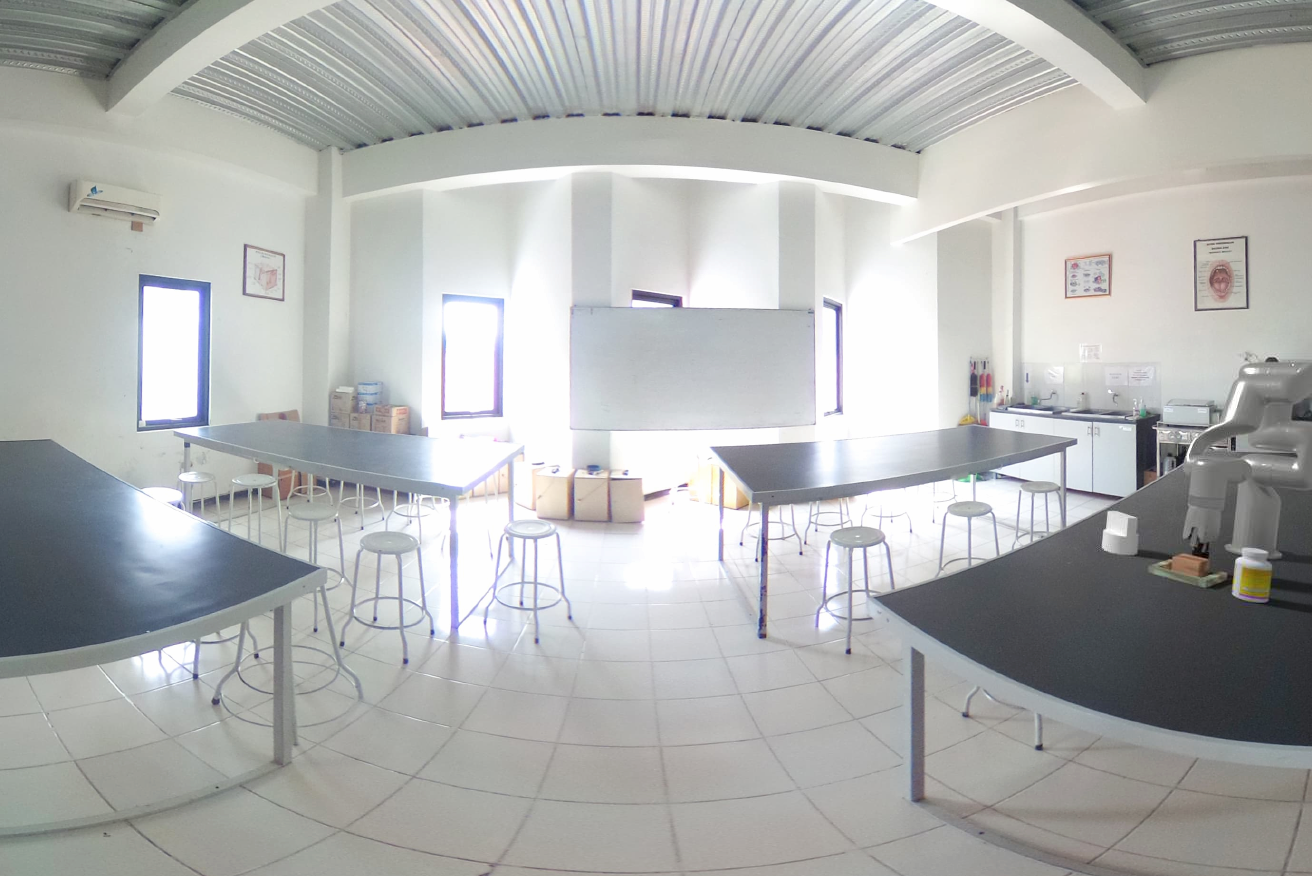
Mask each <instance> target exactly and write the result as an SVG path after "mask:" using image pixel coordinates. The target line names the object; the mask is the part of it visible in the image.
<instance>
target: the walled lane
mask: <svg viewBox="0 0 1312 876" xmlns="http://www.w3.org/2000/svg"><path fill="white" fill-rule="evenodd" d="M1147 568H1148V569H1147V574H1151V575H1156V576H1159V577H1163V578H1166V577H1167V579H1171V580H1175V581H1178V582H1182V583H1186V584H1190V585H1193V586H1196V587H1200V588H1208V587H1211V586H1214V585H1217V584H1219V583H1223V582H1225V581H1227V579H1228V572H1226V571H1225V572H1224V571H1218V572H1215V573H1212V574H1208V576H1206V577H1203V578H1200V577H1196V576H1192V575H1188V574H1184V573H1180V572H1176V571H1172V570H1171V568H1172V559H1166V560H1162V561H1160V562H1157V563H1154V564H1151V565H1148V567H1147Z"/></svg>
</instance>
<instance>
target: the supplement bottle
mask: <svg viewBox="0 0 1312 876" xmlns="http://www.w3.org/2000/svg"><path fill="white" fill-rule="evenodd" d="M1242 554H1243V556H1240V557H1239V556H1238V557H1236V559H1235V561H1234V562H1235V563H1234V568H1233V569H1234V571H1233V572H1234V573H1233V579H1232V586H1231V587H1232V588H1231V594H1232V596H1233V597H1235V598H1237V599H1239V600H1242V601H1246V602H1250V603H1258V604H1259V603H1263V604H1264V603H1267V602H1268V601H1269V597H1270V590H1271V581H1272V574H1273V573H1272V572H1273V565H1272V563H1271V562H1269V561H1268V560H1267V559H1266V558H1267V557H1268V552H1267V551H1264V550H1261V549H1256V548H1242Z"/></svg>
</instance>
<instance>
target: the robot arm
mask: <svg viewBox="0 0 1312 876" xmlns="http://www.w3.org/2000/svg"><path fill="white" fill-rule="evenodd" d="M1311 394H1312V361H1311V362H1310V361H1263V362H1262V361H1260V362H1250V363H1246V364H1244V365H1242V366H1241V367H1240V368H1239V371H1238V377H1237V378H1236V379H1235V380H1234V381H1233V383H1232V384H1231V387H1230V390H1229V393H1228V396H1227V398H1226V401H1225V404H1224V406H1223V410H1222V412H1221V415H1220V417H1219V420H1218V421H1217V422H1215V423H1214V424H1213V425H1211V426H1209V427H1207V428H1205V429H1203V430H1202V431H1201V432H1200V433H1198V434H1197V435H1196V436H1195V437H1194V438H1193V439H1192V440H1191V442H1190V443H1189V446H1188V448H1187V451H1186V453H1185V457H1184V460H1183V463H1182V471H1183V473H1184V474H1185V476H1186V477H1189V478H1190V481H1189V491H1188V499H1187V501H1188V502H1187V506H1188V509H1187V513H1186V516H1185V520H1184V527H1183V532H1182V538H1183V540H1184V541H1188V540H1190V543H1189V546H1190V547H1191V549H1192V552H1191V555H1192V556H1196V557H1201V558H1205V559H1209V558H1210V551H1211V547H1212V543H1213V542H1214V541H1216V540H1218V539H1219V537H1220V532H1221V523H1222V511H1224V510H1225V503H1226V502H1225V501H1226V495H1227V494H1226V493H1227V485H1228V484H1229V485H1237V498H1236V507H1235V513H1234V514H1235V515H1234V523H1233V531H1232V540H1231V543H1228V544H1224V550H1225V551H1227V552H1228V553H1231V554H1235V555H1237V556H1240V557H1242V556H1243V554H1242V548H1256V549H1261V550H1264V551H1267V552H1268V557H1267V558H1266V560H1279V559H1282V558H1283V553H1281V552H1280V551H1278V550H1276V547H1277V546H1276V545H1277V539H1278V532H1279V531H1278V530H1279V524H1280V523H1279V522H1280V515H1281V507H1282V506H1281V505H1282V501H1281V497H1280V495H1279V494H1278V492H1277V491H1276V490H1275V489H1274V488H1284V489H1289V490H1290V489H1291V490H1298V491H1310V490H1312V421H1306V420H1292V413H1293V407H1294V406H1295V405H1296V404H1299V403H1301V402H1302V401H1303V400H1305V398H1307V397H1308V396H1309V395H1311ZM1244 435H1247V441H1248V444H1249V445H1250V446H1251V447H1252V448H1254V449H1259V450H1264V451H1265V450H1266V451H1273V452H1274V451H1275V452H1283V453H1285V452H1286V453H1295V454H1296V456H1297V457H1296V456H1285V455H1277V454H1267V453H1266V454H1265V453H1248V454H1245V455H1242V456H1241V457H1240V458H1238V457H1231V456H1230V457H1229V456H1222V455H1213V454H1205V452H1206V451H1207V450H1208V449H1209V447H1211V446H1213V445H1214V444H1216V443H1219V442H1221V441H1223V440H1227V439H1231V438H1235V437H1239V436H1244ZM1209 560H1210V559H1209Z"/></svg>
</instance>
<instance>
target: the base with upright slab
mask: <svg viewBox="0 0 1312 876" xmlns="http://www.w3.org/2000/svg"><path fill="white" fill-rule="evenodd" d="M1106 517H1107V518H1106V527H1105V529H1103V530H1102V541H1101V549H1102V548H1103V549H1104V550H1103V549H1102V550H1103V551H1106V552H1107V551H1108V553H1110V554H1111V553H1112V554H1115V553H1116V554H1115V555H1121V556H1123V555H1124V556H1135V554H1136V555H1137V554H1138V548H1139V547H1138V546H1139V535H1140V534H1139V533H1137V529H1138V519H1139V518H1138V517H1136V516H1133V515H1131V514H1130V515H1129V514H1127V513H1125V512H1121V511H1117V510H1107V515H1106Z"/></svg>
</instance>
